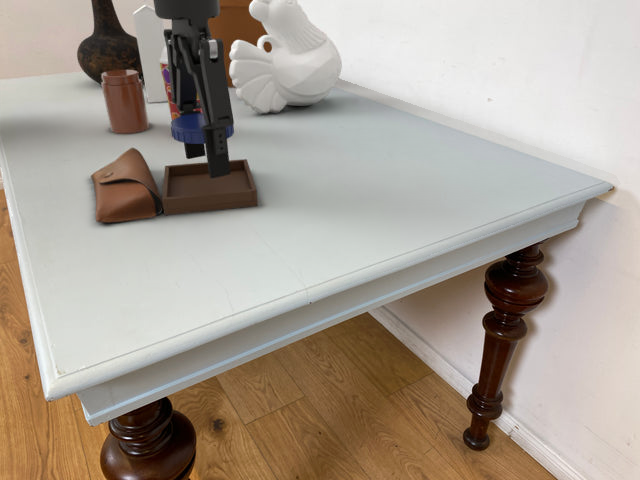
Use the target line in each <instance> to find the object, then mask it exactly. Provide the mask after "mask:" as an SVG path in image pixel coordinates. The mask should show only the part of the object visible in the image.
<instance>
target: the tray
mask: <svg viewBox="0 0 640 480" xmlns="http://www.w3.org/2000/svg"><path fill="white" fill-rule="evenodd" d="M229 164H230V174H229V175H225V176H221V177H216V178H212V179H211V178H210V177H209V170H208V162H207V161H206V162H193V163H182V164H170V165H165V166H164V171H163V172H164V173H163V184H162V193H161V199H162V203H163V209H162V210H163V213H164V216H171V215H181V214H189V213H191V214H192V213H199V212H201V213H202V212H209V211H219V210H229V209H240V208H248V207H249V208H250V207H258V205H259V203H258V202H259V201H258V189H257V188H256V184H255V183H256V182H255V181H254V178H253V174H252V172H251V168H250V165H249V162H248V159H247V158H244V159H243V158H242V159H231V160H230V159H229Z"/></svg>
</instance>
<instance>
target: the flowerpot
mask: <svg viewBox="0 0 640 480" xmlns="http://www.w3.org/2000/svg"><path fill="white" fill-rule="evenodd" d="M252 1H253V0H219V6H220V14H219V15H218V16H217V17H215V18H209V19H208V25H209V29H210V33H211V36H212V39H222V41H223V45H224V64H225V70H226V77H227V83H228V88H236V87H235V86H234V85H233V83H232V78H231V77H230V75H229V68H230V64H231V62H232V60H231V59H230V56H229V54H230V52H231V46H232V44H233V43H234V41H236V40H242V41H245V42H248V43H250V44H252V45H254V46H256V47H257V42H258V40H259V38H260V37H262V36H263V35H268V33H267V32H266V30H265V28H264V27H263V25H262V23H261V21H258V20H256V19H255V18H253V17H252V16H251V14H250V12H249V6H250V4H251V2H252ZM263 47H264V50H265V51H266V52H267V53H269V52H271V50H272V45H271V44H270V43H269V42H264V45H263Z"/></svg>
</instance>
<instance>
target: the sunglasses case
mask: <svg viewBox="0 0 640 480" xmlns="http://www.w3.org/2000/svg"><path fill="white" fill-rule="evenodd" d="M90 177H91V180H92V182H93V185H94V193H95V221H96V222H97V223H102V224H108V223H109V224H110V223H126V222H132V221H139V220H147V219H150V218H155V217H157V216H158V215H160V214H161V212H162V210H164V209H163V203H162V196H161V194H160V191H159V188H158V186H157V184H156V181H155V179H154V177H153V174H152V172H151V169H150V168H149V164H148V163H147V161H146V159H145V157H144V156H143V154H142V152H141V151H139V150H138V149H137V148H135V147H130V148H128V150H126V151H124V152H123V153H122V154H120V156H119V157H118V158H116V159H115V160H114V161H112V162H111V163H108V164H107V165H105V166H103V167H102V168H100V169H98V170H96V171H95V172H93V173H92V174H91V175H90Z"/></svg>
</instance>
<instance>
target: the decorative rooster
mask: <svg viewBox="0 0 640 480" xmlns="http://www.w3.org/2000/svg"><path fill="white" fill-rule="evenodd" d="M249 12H250V14H251V16H252V17H253V18H255V19H256V20H258V21H261V23H262V25H263V27H264V28H265V30H266V32H267V33H268V35H263V36H262V37H260V38H259V40H258V42H257V47H256V46H254V45H252V44H250V43H248V42H245V41H242V40H236V41H234V43H233V44H232V46H231V52H230V54H229V56H230V59H231V60H232V62H231V64H230V68H229V75H230V77H231V78H232V83H233V85H234V86H235V87H234V88H236V89H235V95H236V96H237V99H238V100H239V101H241V102H242V103H243V105H245V106H247V107H250V108H251V109H252V110H254V111H255V112H257V113H259V114H261V115H265V114H268V113H271V114H273V113H274V114H276V113H280V112H281V111H282V110H283V109H284V108H285V107H286V106H293V107H294V106H296V107H306V106H311V105H313V104H316V103H318V102H320V101H321V100H323V99H324V98H325V97H326V96H327V95H328V94H329V92H330V91H331V90H332V89H333V88H334V85H336V83H337V81H338V80H339V77H340V75H341V72H342V68H343V62H342V58H341V55H340V53H339V50H338V48H337V46H336V45H335V43H334V41H332V40H331V38H330V37H328V35H327V34H326V33H325V32H324V31H322V30H321V29H320V28H319V27H317V26H316V25H315V24H313V22H311V20H310V19H309V17H308V15H307V13H306V12H305V11H304V9H303V7H302V6H301V5H300V4H299V3H298V0H253V1H252V2H251V4H250V6H249ZM264 42H269V43H270V44H271V45H272V50H271V52H269V53H267V52H266V51H265V50H264V47H263V45H264Z"/></svg>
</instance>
